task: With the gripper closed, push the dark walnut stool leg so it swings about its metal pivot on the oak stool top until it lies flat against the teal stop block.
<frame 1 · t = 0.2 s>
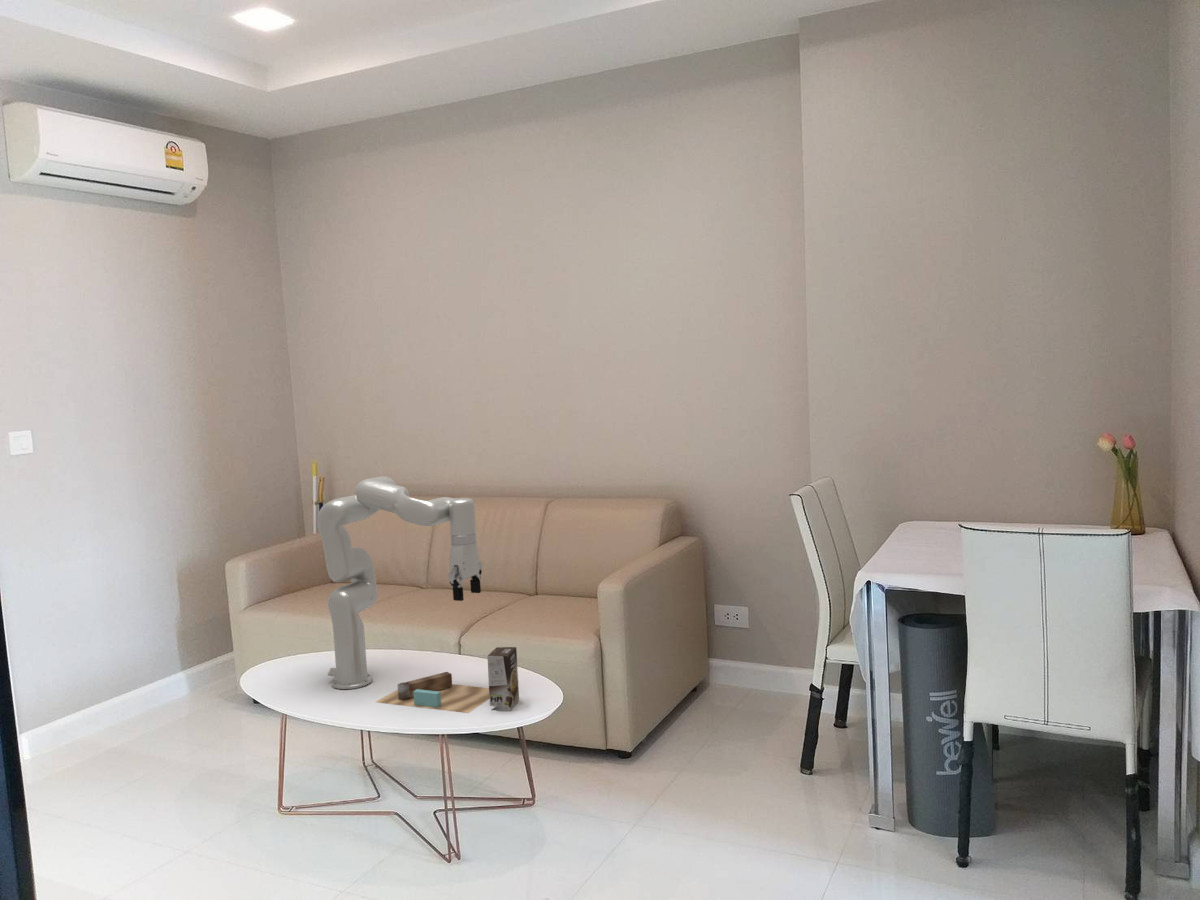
hand: (467, 596, 269), 30 cm above the table, tool pointing down, fingers open, 9 cm apart
folding leg: (424, 685, 271), point 4 cm above the table, hinge at 60.0°
coffee box: (505, 705, 262), on the table
stop block: (427, 705, 261), resting on stool top
stool top: (440, 700, 268), on the table
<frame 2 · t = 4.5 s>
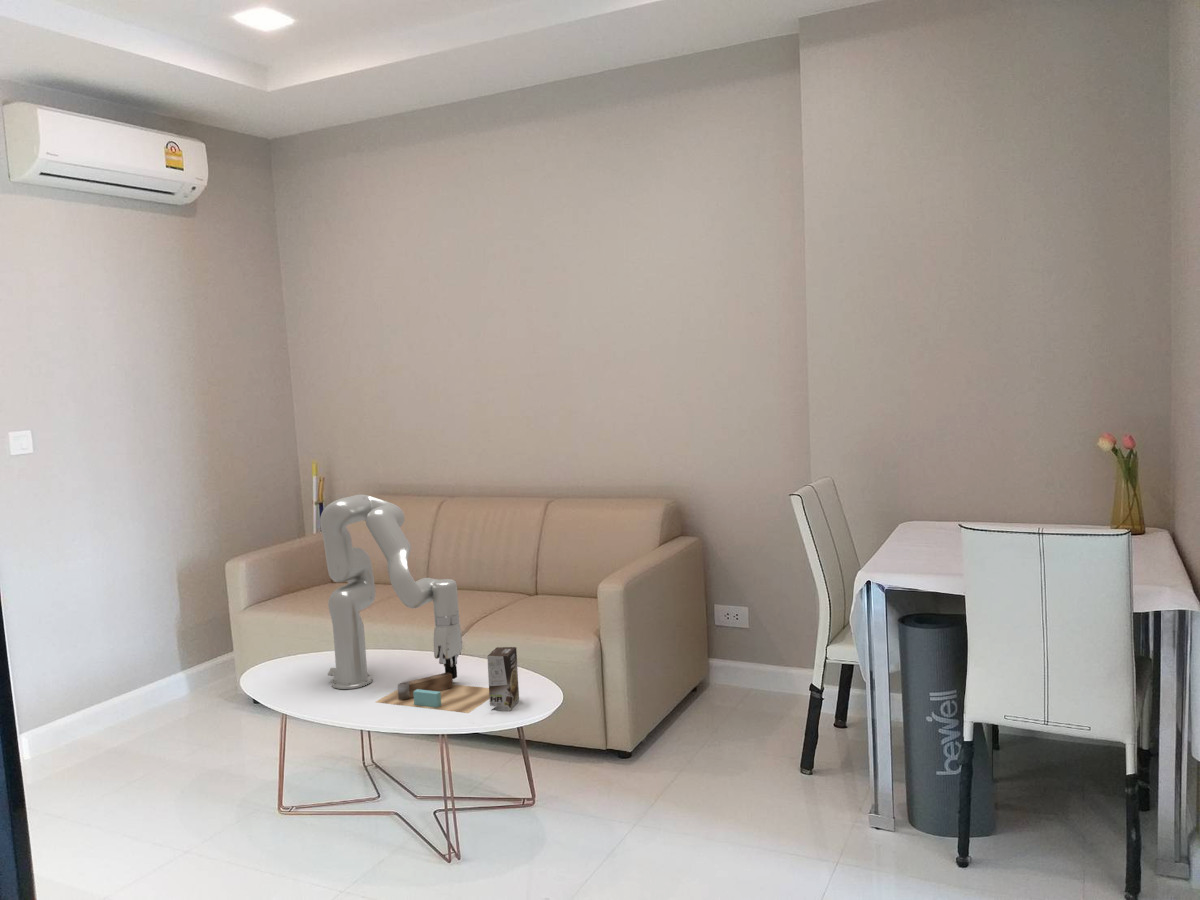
hand: (451, 677, 279), 3 cm above the table, tool pointing down, fingers closed
folding leg: (424, 685, 271), point 4 cm above the table, hinge at 57.5°, touching gripper
everything else where it was.
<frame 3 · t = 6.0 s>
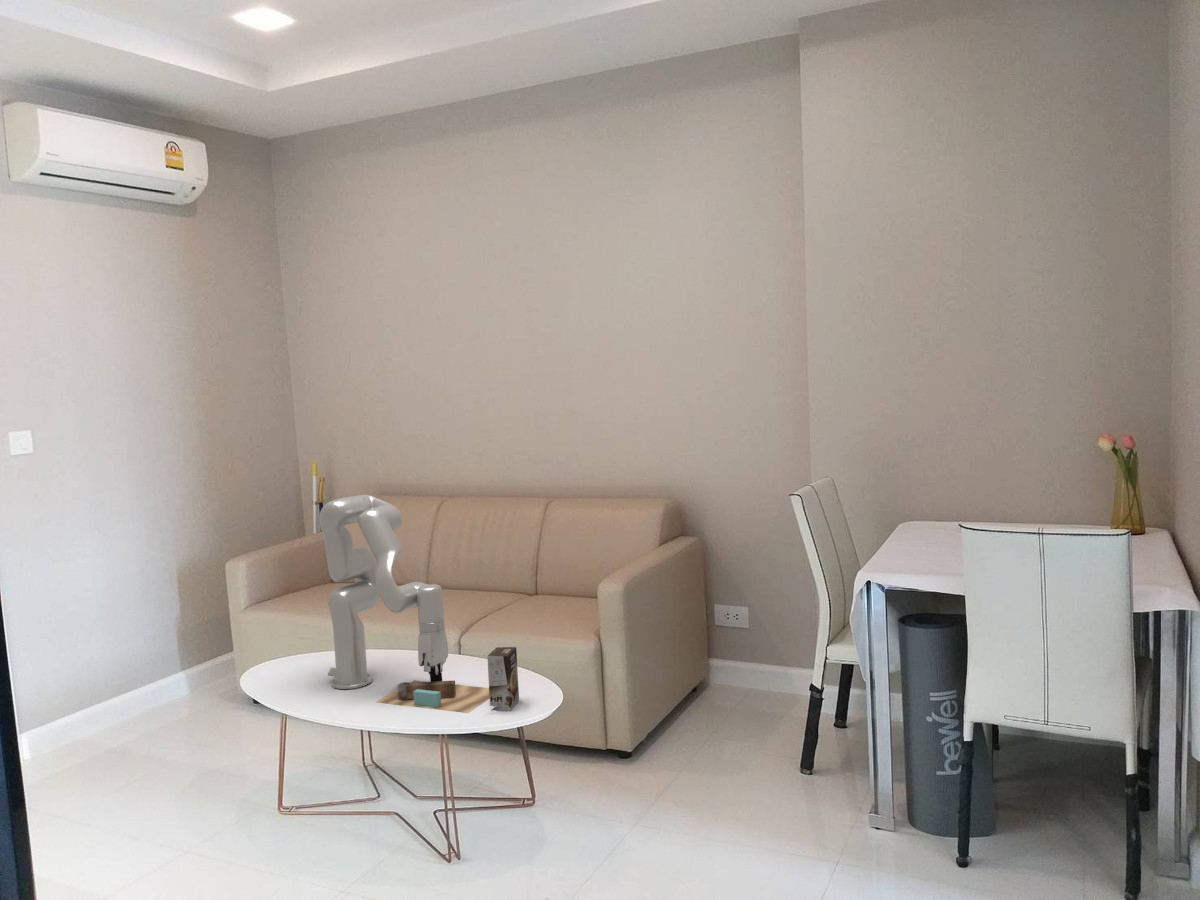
hand: (436, 686, 270), 4 cm above the table, tool pointing down, fingers closed
folding leg: (426, 689, 267), point 4 cm above the table, hinge at 22.9°, touching gripper
everything else where it was.
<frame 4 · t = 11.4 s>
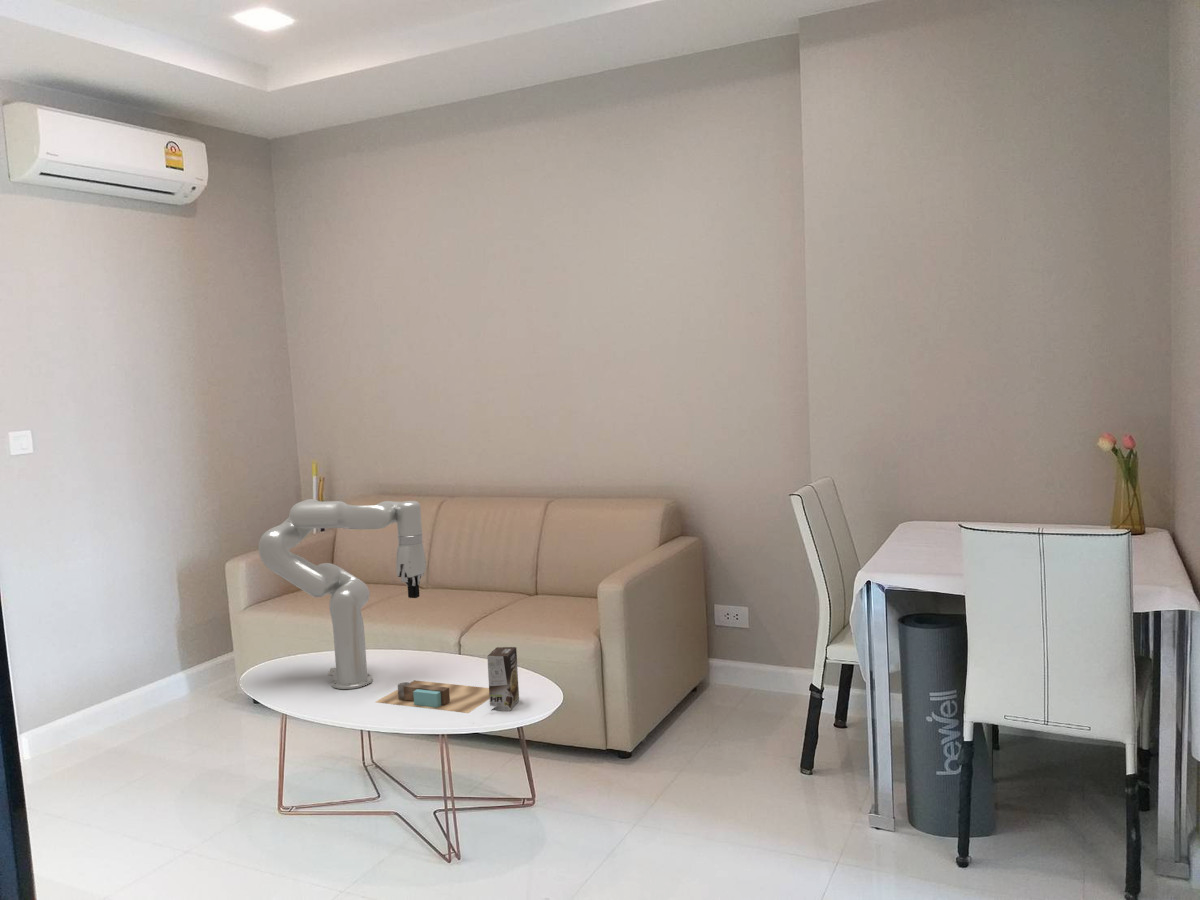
hand: (413, 597, 286), 27 cm above the table, tool pointing down, fingers closed
folding leg: (422, 693, 264), point 4 cm above the table, hinge at -1.2°, touching stop block
everything else where it was.
at the end: folding leg at -1° (first picture: +60°); coffee box moved 0.2 cm from its start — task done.
